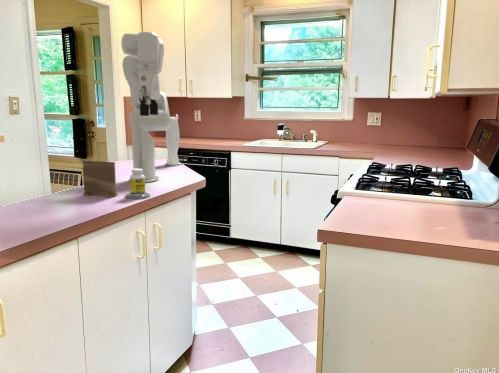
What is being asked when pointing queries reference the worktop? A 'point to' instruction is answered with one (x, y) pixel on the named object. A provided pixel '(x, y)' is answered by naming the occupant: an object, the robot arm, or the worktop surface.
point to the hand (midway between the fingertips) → (149, 115)
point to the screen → (99, 178)
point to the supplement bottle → (137, 182)
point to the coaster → (137, 196)
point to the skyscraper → (173, 142)
